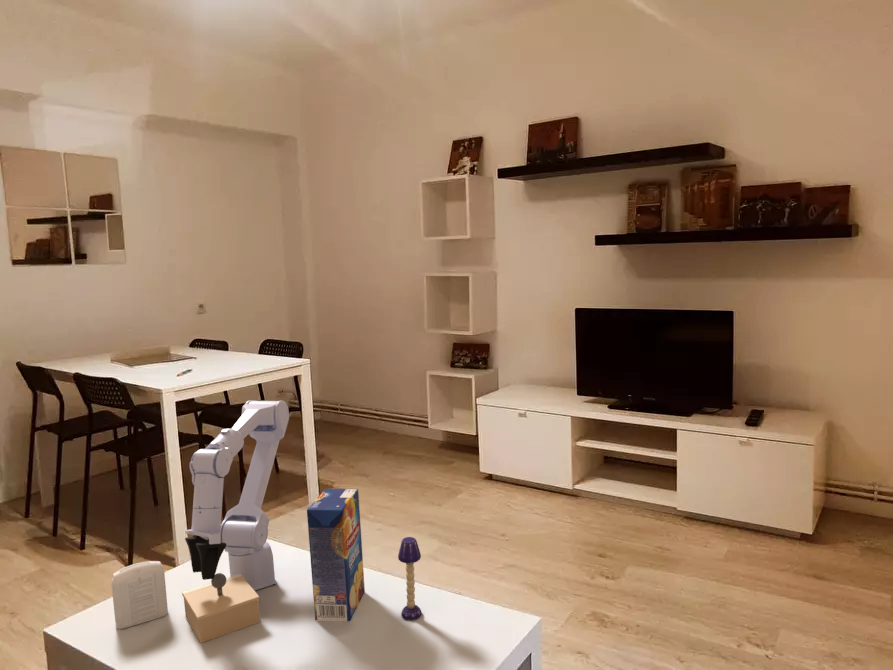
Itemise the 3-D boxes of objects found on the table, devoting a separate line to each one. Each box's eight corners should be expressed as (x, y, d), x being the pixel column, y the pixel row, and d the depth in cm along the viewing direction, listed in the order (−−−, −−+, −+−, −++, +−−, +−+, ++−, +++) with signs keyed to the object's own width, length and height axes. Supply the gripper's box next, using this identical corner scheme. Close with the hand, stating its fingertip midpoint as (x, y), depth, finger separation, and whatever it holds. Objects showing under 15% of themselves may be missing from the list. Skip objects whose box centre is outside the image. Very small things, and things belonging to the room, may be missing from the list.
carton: (241, 598, 150) (239, 577, 149) (260, 621, 140) (258, 599, 139) (185, 616, 143) (183, 595, 142) (200, 643, 133) (198, 619, 132)
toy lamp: (427, 611, 141) (423, 535, 139) (418, 623, 136) (414, 545, 134) (406, 608, 143) (402, 533, 140) (396, 619, 138) (392, 542, 136)
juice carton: (350, 622, 138) (342, 510, 135) (315, 620, 139) (306, 510, 136) (364, 592, 150) (358, 488, 147) (332, 591, 151) (325, 488, 148)
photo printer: (166, 607, 147) (160, 553, 146) (170, 615, 144) (164, 560, 142) (114, 623, 142) (107, 567, 140) (117, 632, 138) (110, 575, 137)
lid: (240, 576, 149) (238, 554, 149) (259, 599, 139) (257, 576, 138) (182, 594, 142) (179, 572, 142) (197, 620, 132) (195, 595, 131)
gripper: (179, 504, 144) (174, 570, 142) (196, 512, 132) (191, 584, 130) (213, 503, 148) (208, 567, 146) (232, 510, 136) (228, 580, 134)
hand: (203, 575), depth 138 cm, fingers open, 7 cm apart
